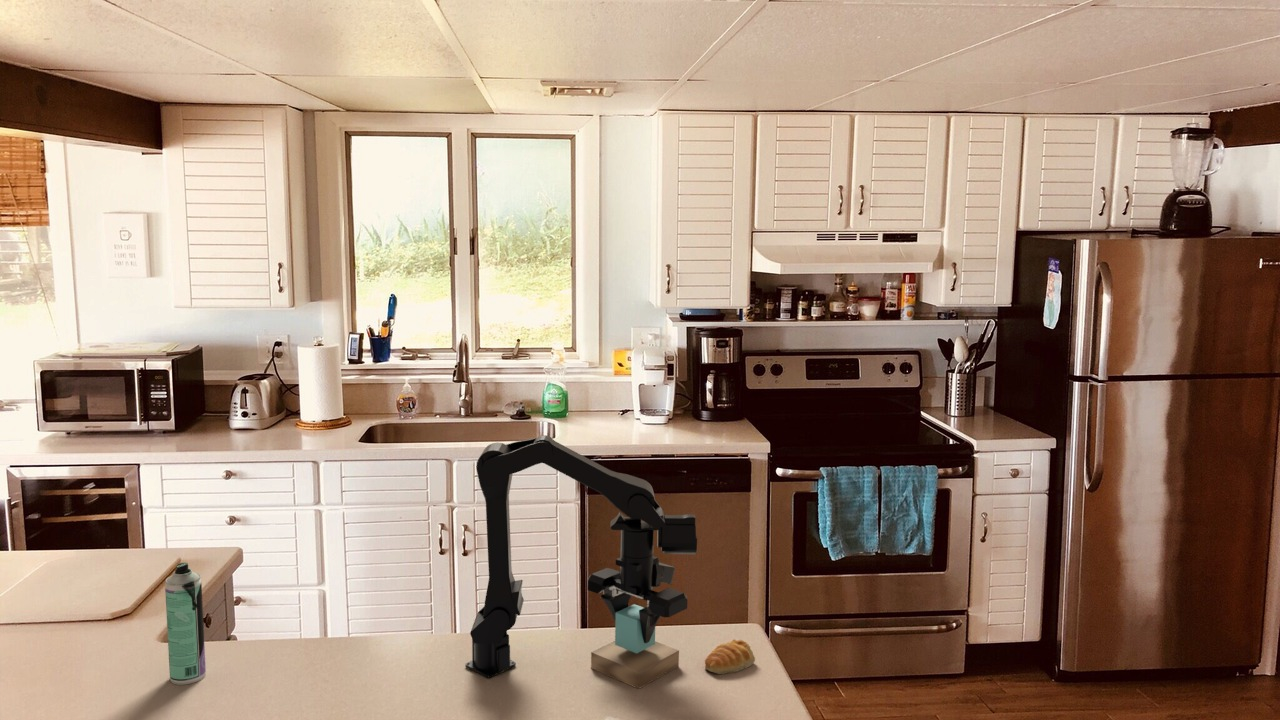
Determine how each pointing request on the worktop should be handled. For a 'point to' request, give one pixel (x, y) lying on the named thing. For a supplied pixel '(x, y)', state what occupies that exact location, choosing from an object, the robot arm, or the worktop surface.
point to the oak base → (635, 663)
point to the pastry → (730, 657)
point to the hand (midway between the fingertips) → (635, 638)
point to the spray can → (185, 626)
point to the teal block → (630, 630)
